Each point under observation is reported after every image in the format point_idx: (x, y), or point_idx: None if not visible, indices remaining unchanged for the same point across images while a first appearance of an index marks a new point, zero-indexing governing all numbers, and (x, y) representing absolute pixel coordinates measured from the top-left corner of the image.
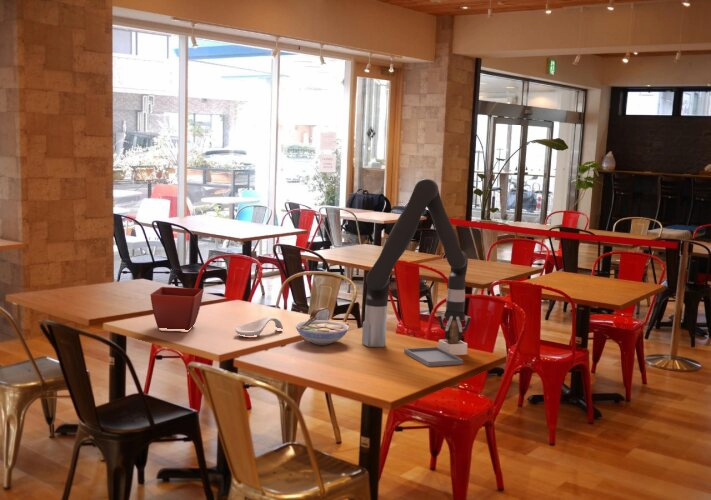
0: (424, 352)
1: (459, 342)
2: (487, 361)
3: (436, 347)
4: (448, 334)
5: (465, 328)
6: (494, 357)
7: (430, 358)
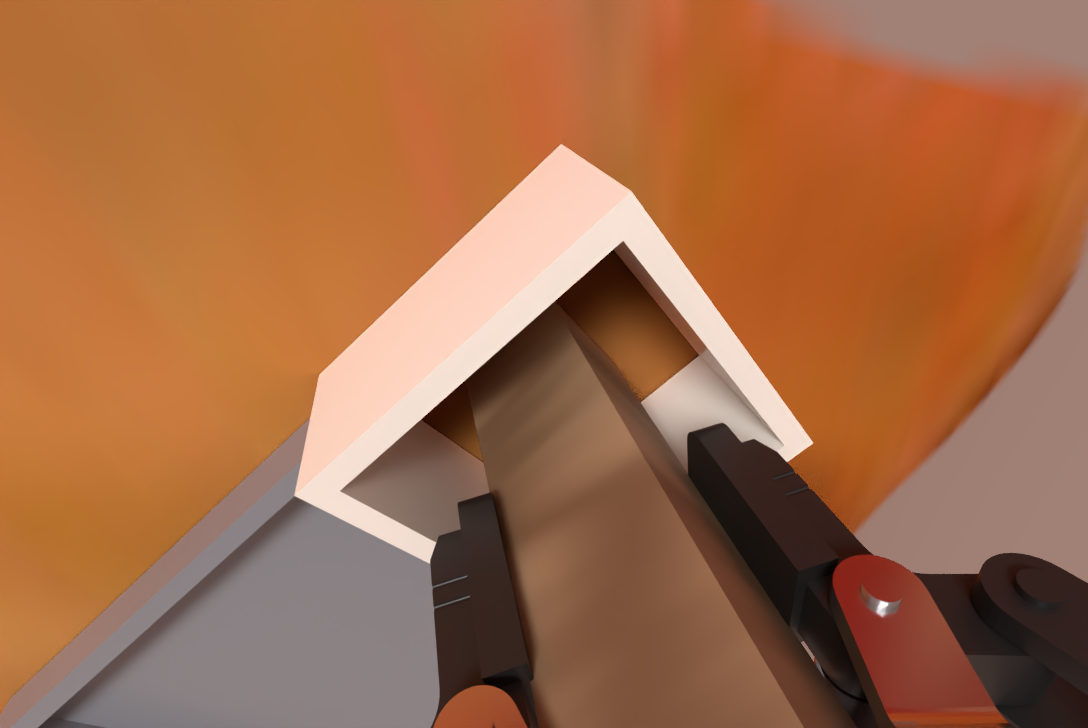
0: (245, 619)
1: (679, 317)
2: (892, 473)
3: None
4: (519, 597)
5: (1014, 707)
6: (1008, 304)
7: (412, 715)
